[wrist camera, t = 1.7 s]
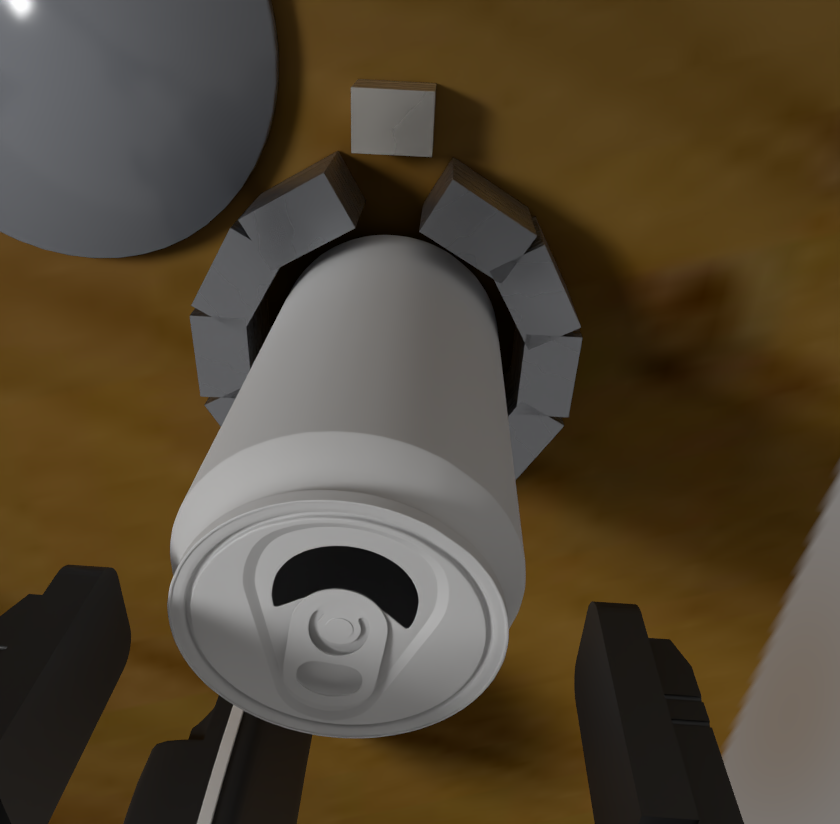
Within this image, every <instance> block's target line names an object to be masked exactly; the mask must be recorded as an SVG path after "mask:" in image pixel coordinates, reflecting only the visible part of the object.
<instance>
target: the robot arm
mask: <svg viewBox="0 0 840 824" xmlns="http://www.w3.org/2000/svg"><path fill="white" fill-rule="evenodd" d="M130 644H131V630H130V625H129V621H128V617H127V613H126V608H125V604H124V600H123V596H122V591H121V587H120V583H119V579H118V575H117V573H116V571H115V570H114V569H113V568H109V567H94V566H79V565H66V566H64V567H63V568H62V569H60V571H59V572H58V573H57V575H56V576H55V577H54V579H53V580H52V582H51V583H50V585H49V586H48V588H47V589H46V591H45V592H44V594H43V595H33V594H29V595H27V596H26V597H25V598H23V599H22V600H21V601H19V602H18V603H17V604H16V605H14V606H13V607H12V608H10V609H9V610H8V611H7V612H5V613H4V614H3V615H1V616H0V824H48V822H49V820H50V818H51V816H52V814H53V812H54V810H55V808H56V806H57V804H58V802H59V800H60V798H61V796H62V794H63V792H64V790H65V788H66V785H67V783H68V781H69V779H70V777H71V775H72V773H73V771H74V769H75V767H76V765H77V763H78V761H79V759H80V757H81V755H82V753H83V751H84V749H85V747H86V745H87V743H88V741H89V739H90V737H91V735H92V733H93V730H94V728H95V726H96V724H97V722H98V720H99V718H100V716H101V714H102V712H103V710H104V708H105V706H106V704H107V702H108V700H109V698H110V696H111V694H112V692H113V690H114V688H115V686H116V684H117V682H118V680H119V678H120V675H121V673H122V671H123V669H124V667H125V665H126V662H127V659H128V655H129V651H130ZM575 700H576V707H577V713H578V719H579V726H580V732H581V738H582V745H583V751H584V757H585V764H586V770H587V776H588V783H589V789H590V795H591V802H592V808H593V815H594V821H595V824H744V822H743V820H742V817H741V814H740V811H739V808H738V805H737V802H736V799H735V796H734V793H733V790H732V787H731V784H730V781H729V778H728V775H727V772H726V769H725V766H724V763H723V760H722V757H721V754H720V751H719V748H718V745H717V742H716V739H715V736H714V733H713V730H712V728H710V725H709V722H710V721H709V718H708V715H707V712H706V709H705V706H704V703H703V702H701V694H700V691H699V688H698V685H697V682H696V679H695V676H694V673H693V670H692V667H691V665H690V664H689V663H688V662H687V660H686V659H685V658H684V657H683V655H682V654H681V653H680V652H679V650H678V649H677V648H676V647H675V645H674V644H673V643H672V642H671V640H669V639H655V638H648V635H647V632H646V628H645V625H644V621H643V618H642V614H641V611H640V609H639V607H638V606H637V605H636V604H621V603H606V602H591V603H590V605H589V607H588V611H587V615H586V620H585V624H584V629H583V633H582V638H581V642H580V646H579V651H578V655H577V660H576V666H575Z"/></svg>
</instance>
